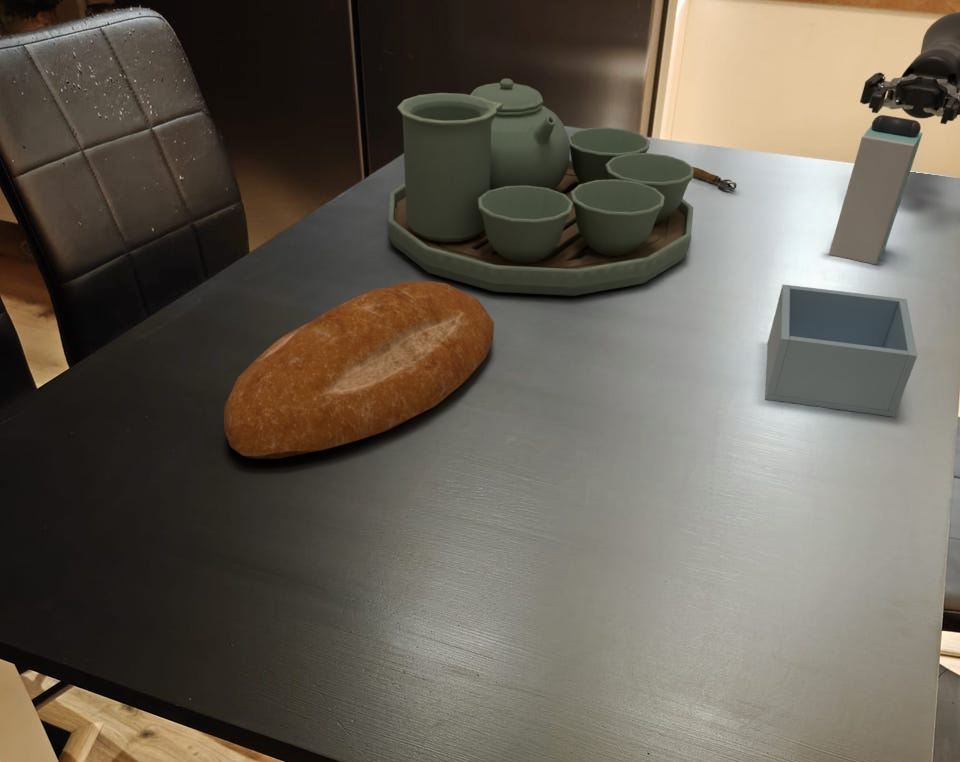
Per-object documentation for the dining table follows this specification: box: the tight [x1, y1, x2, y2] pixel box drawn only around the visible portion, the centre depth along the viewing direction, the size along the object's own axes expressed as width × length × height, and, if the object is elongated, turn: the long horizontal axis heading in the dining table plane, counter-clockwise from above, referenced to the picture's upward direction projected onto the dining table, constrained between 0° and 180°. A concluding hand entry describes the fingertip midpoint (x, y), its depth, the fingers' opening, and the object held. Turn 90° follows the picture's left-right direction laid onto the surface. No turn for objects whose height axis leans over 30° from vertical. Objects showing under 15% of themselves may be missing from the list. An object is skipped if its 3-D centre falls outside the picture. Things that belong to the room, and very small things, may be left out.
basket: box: [764, 284, 918, 418], centre depth 96 cm, size 13×13×7 cm
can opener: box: [692, 166, 737, 191], centre depth 138 cm, size 9×2×1 cm, turn 35°
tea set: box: [387, 78, 694, 297], centre depth 118 cm, size 40×40×16 cm
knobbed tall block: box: [828, 114, 923, 265], centre depth 116 cm, size 6×6×16 cm
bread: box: [223, 280, 495, 460], centre depth 91 cm, size 18×35×9 cm, turn 142°
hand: (910, 109), depth 118 cm, fingers open, 8 cm apart
